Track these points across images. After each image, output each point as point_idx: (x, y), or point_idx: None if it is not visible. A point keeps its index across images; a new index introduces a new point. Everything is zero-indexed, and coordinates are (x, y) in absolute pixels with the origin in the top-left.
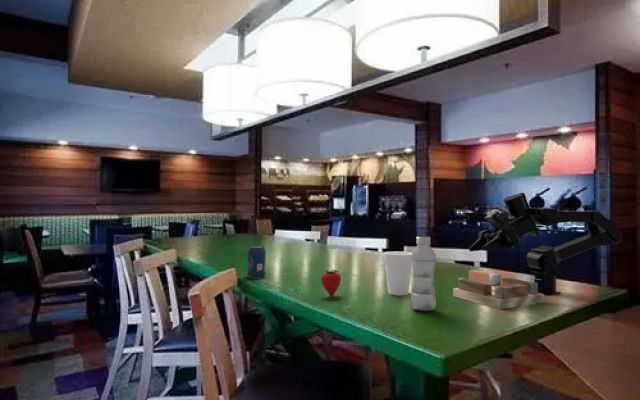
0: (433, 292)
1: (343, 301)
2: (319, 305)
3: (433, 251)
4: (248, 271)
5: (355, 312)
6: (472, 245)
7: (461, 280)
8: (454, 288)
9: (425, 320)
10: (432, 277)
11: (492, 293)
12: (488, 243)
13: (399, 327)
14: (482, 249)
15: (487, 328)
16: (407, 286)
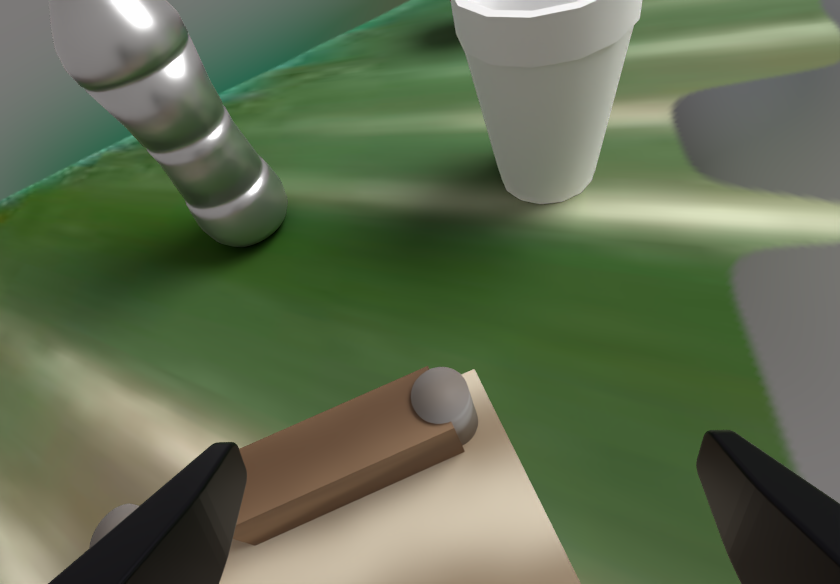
0: (185, 200)
1: (413, 57)
2: (375, 29)
3: (60, 38)
4: None
5: (290, 91)
6: (789, 494)
7: (406, 377)
8: (466, 374)
9: (160, 219)
10: (148, 149)
11: (285, 574)
12: (113, 530)
13: (139, 167)
14: (236, 457)
15: (12, 357)
16: (509, 170)
